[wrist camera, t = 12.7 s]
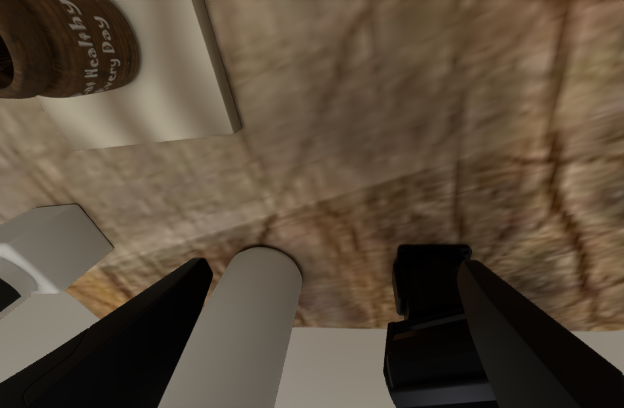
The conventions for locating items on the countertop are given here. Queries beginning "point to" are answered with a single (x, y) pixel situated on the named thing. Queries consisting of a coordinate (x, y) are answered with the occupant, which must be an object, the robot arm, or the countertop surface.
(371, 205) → the countertop surface
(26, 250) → the medicine bottle
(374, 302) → the countertop surface
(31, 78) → the utensil holder
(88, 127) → the ash cloth
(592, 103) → the countertop surface
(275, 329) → the alcohol
